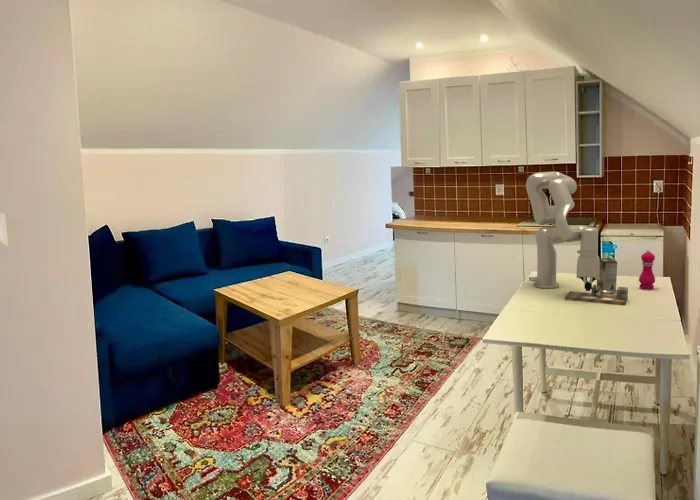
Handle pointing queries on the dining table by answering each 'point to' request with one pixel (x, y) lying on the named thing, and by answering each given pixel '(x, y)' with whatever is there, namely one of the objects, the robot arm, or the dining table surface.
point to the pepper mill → (647, 271)
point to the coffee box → (607, 275)
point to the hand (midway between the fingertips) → (588, 290)
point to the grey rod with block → (599, 291)
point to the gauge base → (607, 299)
